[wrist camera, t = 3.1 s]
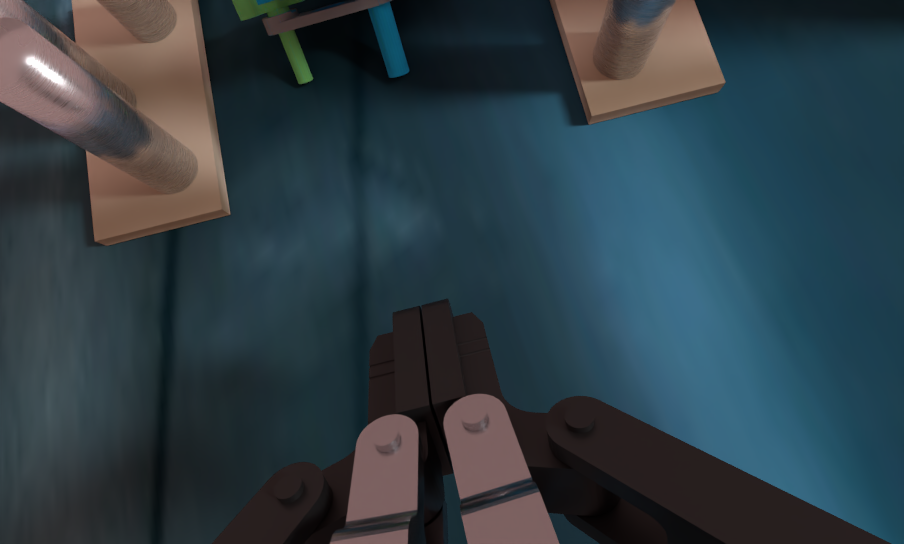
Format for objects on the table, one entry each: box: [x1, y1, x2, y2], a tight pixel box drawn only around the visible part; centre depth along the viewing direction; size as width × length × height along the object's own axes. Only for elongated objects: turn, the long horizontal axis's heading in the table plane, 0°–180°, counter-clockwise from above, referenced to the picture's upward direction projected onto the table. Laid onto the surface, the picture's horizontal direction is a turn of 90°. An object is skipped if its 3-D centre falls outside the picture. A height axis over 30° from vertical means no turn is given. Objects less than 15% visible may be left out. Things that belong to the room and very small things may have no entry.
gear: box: [232, 0, 409, 84], centre depth 24 cm, size 11×6×10 cm
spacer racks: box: [72, 0, 726, 246], centre depth 26 cm, size 13×29×1 cm, turn 103°
